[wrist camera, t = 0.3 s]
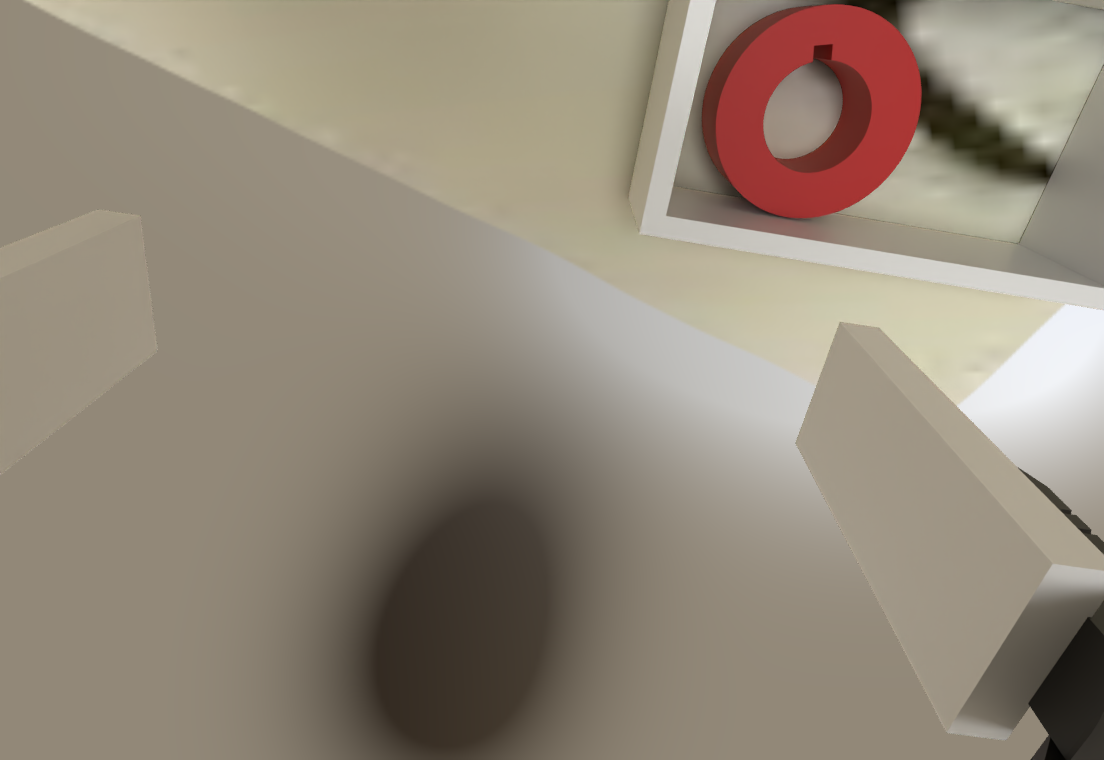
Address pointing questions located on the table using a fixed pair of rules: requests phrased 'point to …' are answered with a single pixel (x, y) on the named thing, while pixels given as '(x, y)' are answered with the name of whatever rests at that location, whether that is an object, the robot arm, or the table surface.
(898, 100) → the red notched ring
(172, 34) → the table surface
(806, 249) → the tray
